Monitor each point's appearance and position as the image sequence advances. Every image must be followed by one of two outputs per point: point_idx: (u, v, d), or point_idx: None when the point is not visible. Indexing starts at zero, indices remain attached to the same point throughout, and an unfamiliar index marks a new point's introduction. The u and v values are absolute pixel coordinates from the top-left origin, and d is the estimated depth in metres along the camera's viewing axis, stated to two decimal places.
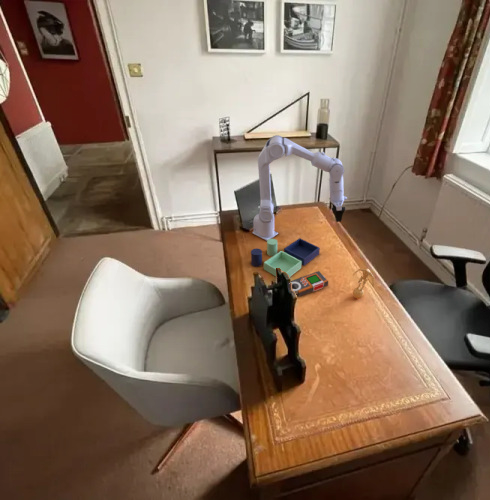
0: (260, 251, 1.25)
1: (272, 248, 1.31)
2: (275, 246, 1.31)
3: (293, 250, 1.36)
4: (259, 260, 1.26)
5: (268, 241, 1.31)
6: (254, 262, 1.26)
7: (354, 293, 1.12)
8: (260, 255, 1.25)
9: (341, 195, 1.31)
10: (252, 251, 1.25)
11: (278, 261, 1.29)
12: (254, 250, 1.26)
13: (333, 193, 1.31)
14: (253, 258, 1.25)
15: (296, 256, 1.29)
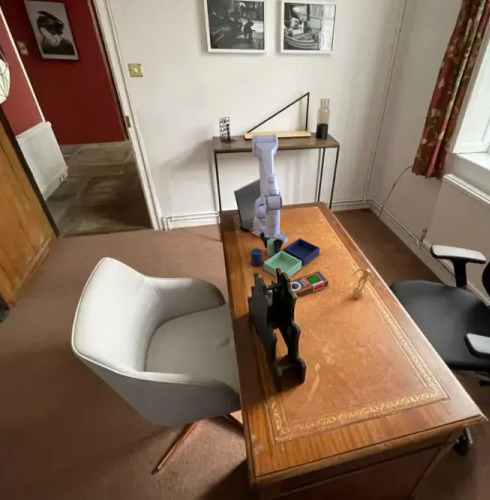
0: (260, 251, 1.25)
1: (272, 248, 1.31)
2: None
3: (293, 250, 1.36)
4: (259, 260, 1.26)
5: (268, 241, 1.31)
6: (254, 262, 1.26)
7: (354, 293, 1.12)
8: (260, 255, 1.25)
9: None
10: (252, 251, 1.25)
11: (278, 261, 1.29)
12: (254, 250, 1.26)
13: None
14: (253, 258, 1.25)
15: (296, 256, 1.29)
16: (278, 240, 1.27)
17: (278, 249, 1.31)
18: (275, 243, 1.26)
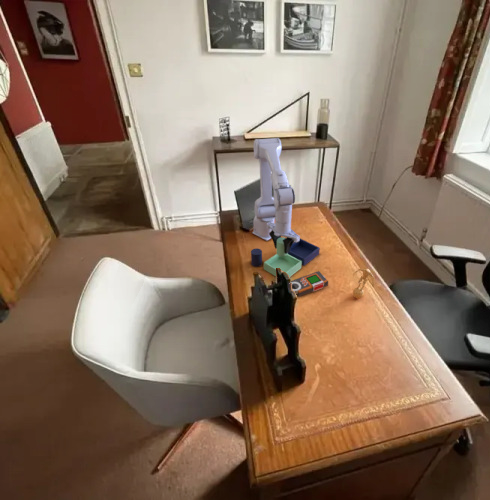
0: (260, 251, 1.25)
1: (282, 248, 1.19)
2: None
3: (293, 250, 1.36)
4: (259, 260, 1.26)
5: (278, 240, 1.20)
6: (254, 262, 1.26)
7: (354, 293, 1.12)
8: (260, 255, 1.25)
9: (275, 224, 1.16)
10: (252, 251, 1.25)
11: (278, 261, 1.29)
12: (254, 250, 1.26)
13: None
14: (253, 258, 1.25)
15: (296, 256, 1.29)
16: (288, 238, 1.16)
17: (288, 248, 1.20)
18: (285, 242, 1.15)
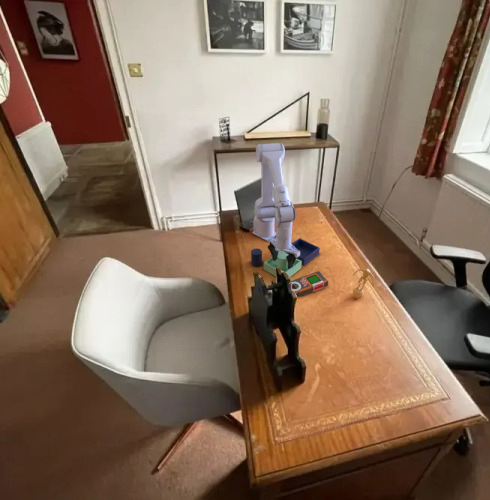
0: (260, 251, 1.25)
1: (283, 263, 1.22)
2: (286, 261, 1.22)
3: None
4: (259, 260, 1.26)
5: (279, 255, 1.23)
6: (254, 262, 1.26)
7: (354, 293, 1.12)
8: (260, 255, 1.25)
9: (276, 239, 1.18)
10: (252, 251, 1.25)
11: None
12: (254, 250, 1.26)
13: None
14: (253, 258, 1.25)
15: None
16: (292, 255, 1.18)
17: (291, 264, 1.22)
18: (289, 258, 1.17)
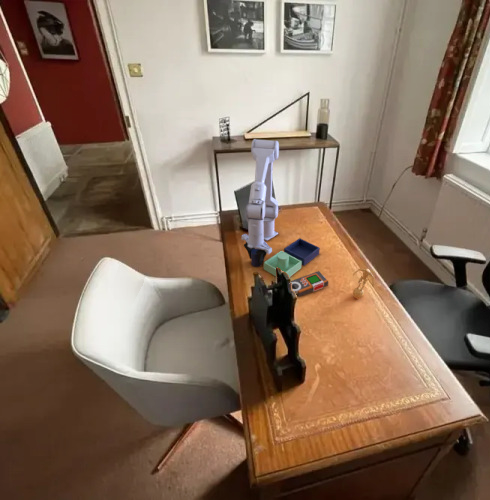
0: None
1: (283, 263, 1.22)
2: (286, 261, 1.22)
3: (293, 250, 1.36)
4: None
5: (279, 255, 1.23)
6: (254, 262, 1.26)
7: (354, 293, 1.12)
8: None
9: None
10: (252, 251, 1.25)
11: None
12: (254, 250, 1.26)
13: None
14: (253, 258, 1.25)
15: (296, 256, 1.29)
16: (261, 250, 1.21)
17: (262, 259, 1.25)
18: (258, 253, 1.20)
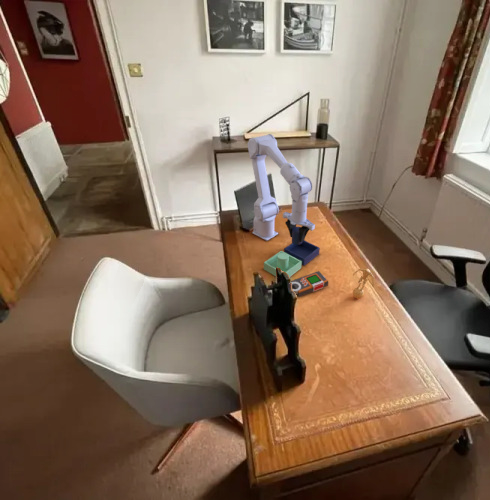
0: None
1: (283, 263, 1.22)
2: (286, 261, 1.22)
3: (293, 250, 1.36)
4: None
5: (279, 255, 1.23)
6: (295, 240, 1.26)
7: (354, 293, 1.12)
8: None
9: None
10: (293, 229, 1.26)
11: None
12: (295, 228, 1.26)
13: None
14: (294, 235, 1.25)
15: (296, 256, 1.29)
16: (304, 227, 1.22)
17: (303, 237, 1.26)
18: (301, 230, 1.21)
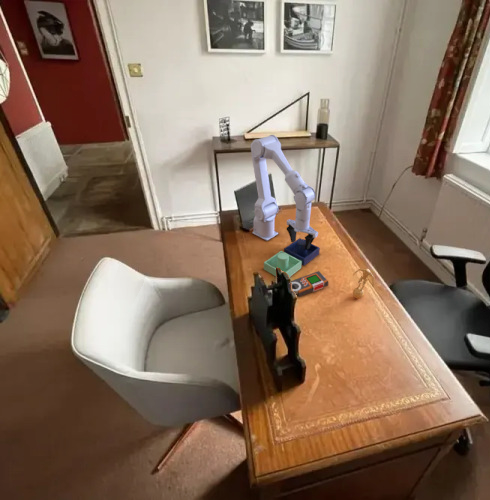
0: None
1: (283, 263, 1.22)
2: (286, 261, 1.22)
3: (293, 250, 1.36)
4: (305, 250, 1.31)
5: (279, 255, 1.23)
6: (300, 252, 1.31)
7: (354, 293, 1.12)
8: None
9: (295, 221, 1.26)
10: (298, 241, 1.31)
11: None
12: (300, 241, 1.31)
13: None
14: (299, 248, 1.30)
15: (296, 256, 1.29)
16: (310, 236, 1.26)
17: (309, 245, 1.30)
18: (307, 238, 1.25)
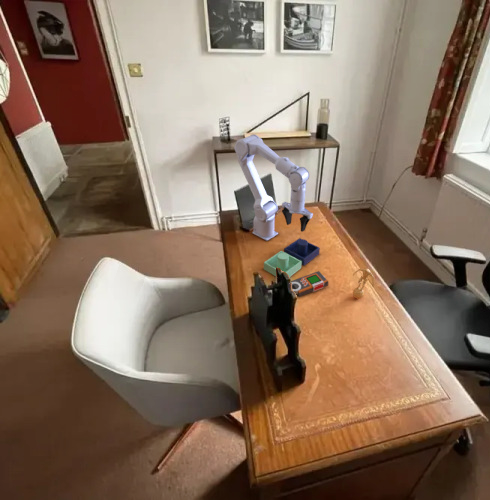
0: (306, 242, 1.31)
1: (283, 263, 1.22)
2: (286, 261, 1.22)
3: (293, 250, 1.36)
4: (305, 250, 1.31)
5: (279, 255, 1.23)
6: (300, 252, 1.31)
7: (354, 293, 1.12)
8: (306, 245, 1.30)
9: (290, 202, 1.28)
10: (298, 242, 1.31)
11: None
12: (300, 241, 1.31)
13: None
14: (299, 248, 1.30)
15: (296, 256, 1.29)
16: (305, 217, 1.27)
17: (304, 227, 1.31)
18: (302, 220, 1.26)
